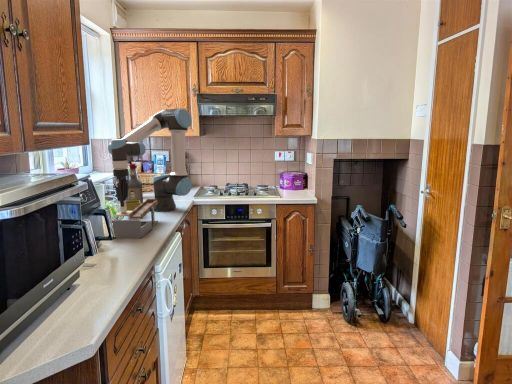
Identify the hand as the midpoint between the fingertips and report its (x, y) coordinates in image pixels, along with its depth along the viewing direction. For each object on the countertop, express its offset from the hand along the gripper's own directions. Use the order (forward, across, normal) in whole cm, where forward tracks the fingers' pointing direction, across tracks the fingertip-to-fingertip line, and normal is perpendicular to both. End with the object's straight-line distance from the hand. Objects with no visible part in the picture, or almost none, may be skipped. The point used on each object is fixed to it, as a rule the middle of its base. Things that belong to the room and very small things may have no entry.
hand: (123, 212), depth 195 cm
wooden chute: (+3, -7, +5) cm, 9 cm away
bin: (+9, +11, +9) cm, 17 cm away
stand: (+9, -6, +9) cm, 14 cm away
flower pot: (+9, -26, -6) cm, 28 cm away
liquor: (+9, -47, -13) cm, 49 cm away
